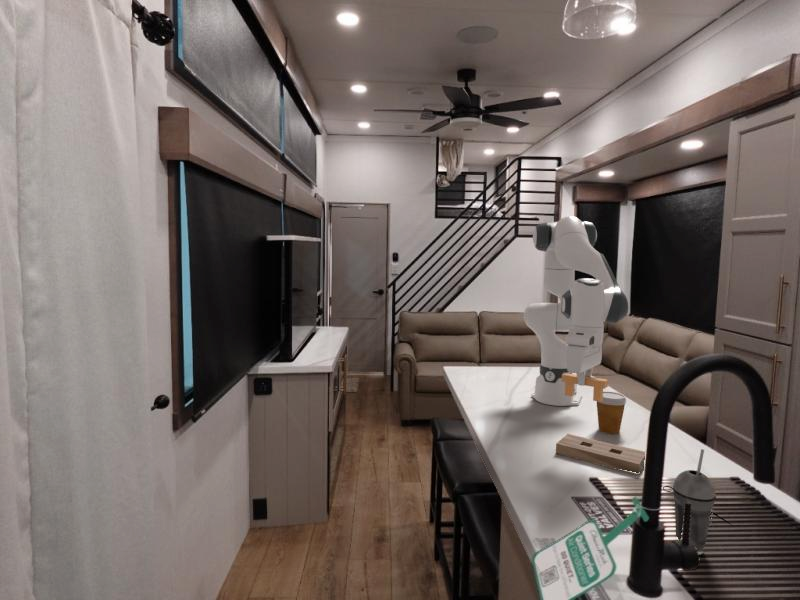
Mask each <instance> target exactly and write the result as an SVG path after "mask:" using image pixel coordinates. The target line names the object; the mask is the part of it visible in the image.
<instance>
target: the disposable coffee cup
mask: <svg viewBox="0 0 800 600" xmlns="http://www.w3.org/2000/svg"><path fill="white" fill-rule="evenodd" d="M627 401H628V400H627V399H626V396H625V395H624V394H622V393H619V392H615V391H614V392H613V391H603V400H602V401H601V402H599V401H596V408H597V410H596V411H597V423H598V430H599V431H600V432H602V433H604V434H610V435H617V434H620V432H621V428H622V420H623V415H624V411H625V405H626V403H627Z"/></svg>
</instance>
